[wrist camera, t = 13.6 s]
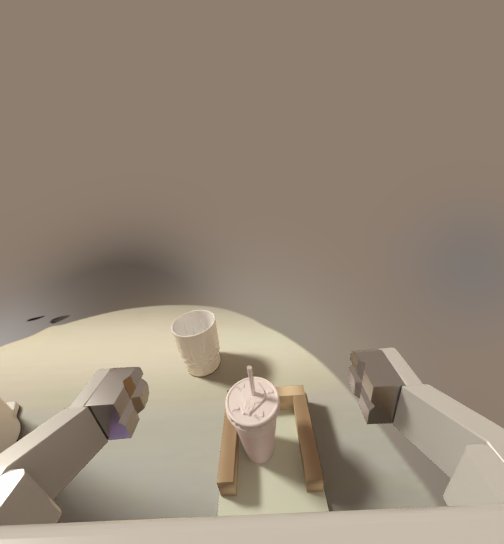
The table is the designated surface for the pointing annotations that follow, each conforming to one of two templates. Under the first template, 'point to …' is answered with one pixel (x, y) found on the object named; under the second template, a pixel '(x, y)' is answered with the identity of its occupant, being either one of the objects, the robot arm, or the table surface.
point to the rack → (309, 455)
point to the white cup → (197, 341)
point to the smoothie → (254, 415)
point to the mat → (274, 479)
